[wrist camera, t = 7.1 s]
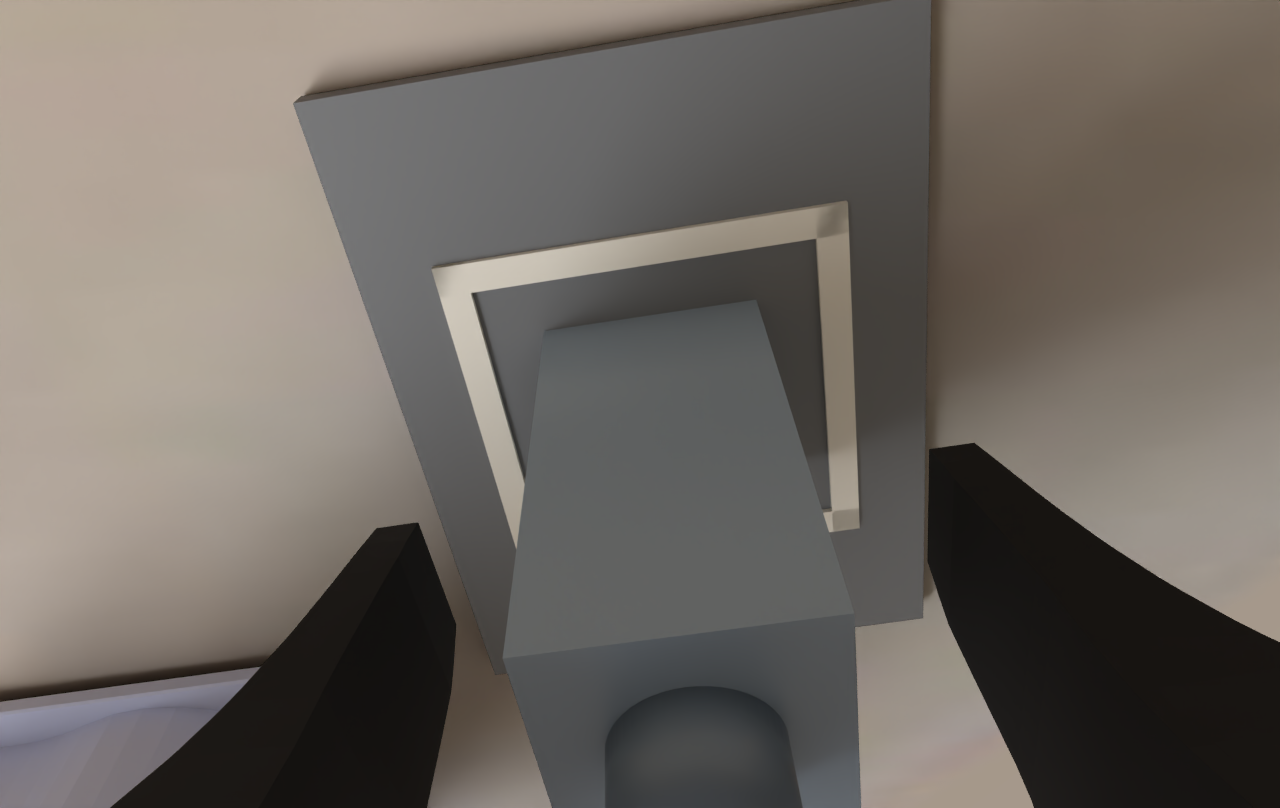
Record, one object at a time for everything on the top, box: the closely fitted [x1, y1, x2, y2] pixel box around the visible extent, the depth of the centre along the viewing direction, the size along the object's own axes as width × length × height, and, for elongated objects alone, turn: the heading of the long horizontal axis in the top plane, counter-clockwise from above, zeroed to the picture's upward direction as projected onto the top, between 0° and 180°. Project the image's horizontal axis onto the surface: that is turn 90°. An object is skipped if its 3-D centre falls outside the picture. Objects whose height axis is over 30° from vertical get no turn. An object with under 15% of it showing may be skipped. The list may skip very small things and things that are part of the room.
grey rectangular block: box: [503, 300, 861, 808], centre depth 12 cm, size 4×4×8 cm
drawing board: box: [293, 0, 931, 675], centre depth 16 cm, size 9×12×1 cm
